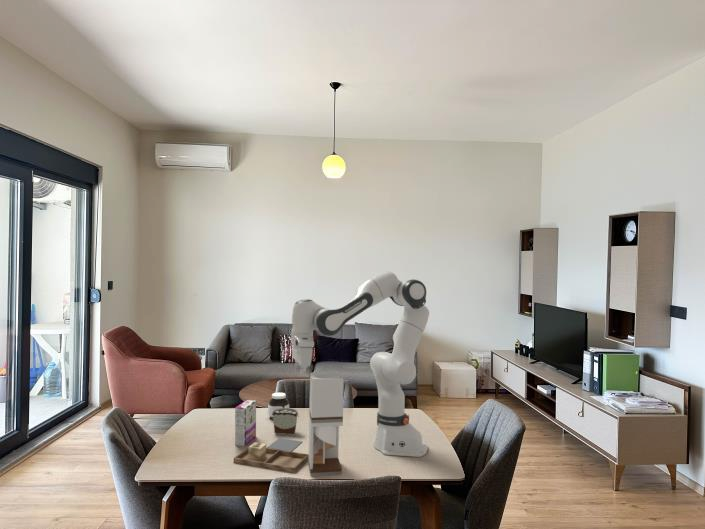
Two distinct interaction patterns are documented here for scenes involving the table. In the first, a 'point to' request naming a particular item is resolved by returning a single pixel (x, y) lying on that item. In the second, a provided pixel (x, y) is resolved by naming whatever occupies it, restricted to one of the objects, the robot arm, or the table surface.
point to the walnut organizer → (275, 460)
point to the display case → (325, 423)
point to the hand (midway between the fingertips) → (300, 373)
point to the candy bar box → (245, 422)
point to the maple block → (257, 452)
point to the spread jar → (277, 403)
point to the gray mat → (285, 444)
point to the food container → (285, 420)
